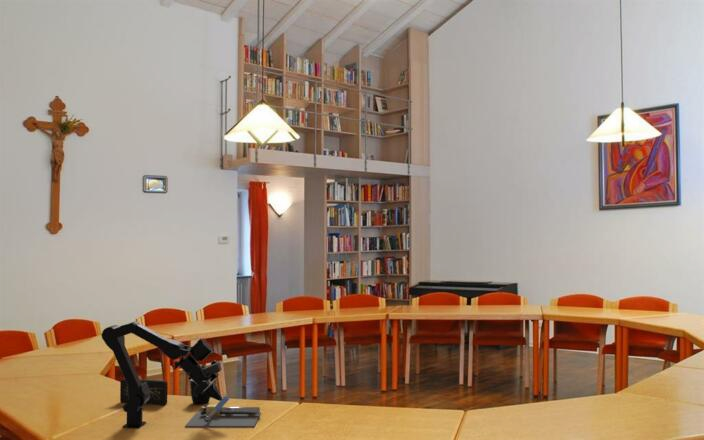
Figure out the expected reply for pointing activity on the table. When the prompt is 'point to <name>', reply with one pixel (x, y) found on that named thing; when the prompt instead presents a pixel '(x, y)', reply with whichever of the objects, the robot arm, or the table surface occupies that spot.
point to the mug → (200, 398)
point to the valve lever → (217, 408)
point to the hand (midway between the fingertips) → (221, 399)
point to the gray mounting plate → (224, 421)
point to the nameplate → (156, 394)
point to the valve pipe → (229, 411)
